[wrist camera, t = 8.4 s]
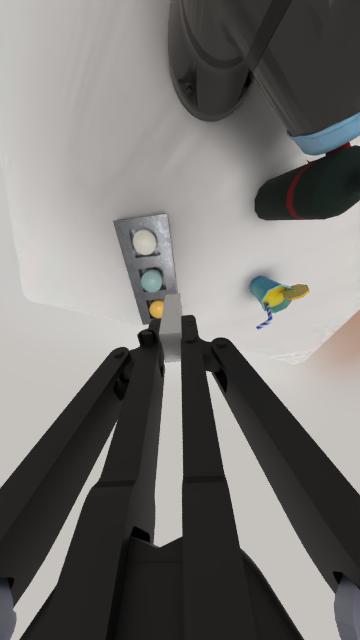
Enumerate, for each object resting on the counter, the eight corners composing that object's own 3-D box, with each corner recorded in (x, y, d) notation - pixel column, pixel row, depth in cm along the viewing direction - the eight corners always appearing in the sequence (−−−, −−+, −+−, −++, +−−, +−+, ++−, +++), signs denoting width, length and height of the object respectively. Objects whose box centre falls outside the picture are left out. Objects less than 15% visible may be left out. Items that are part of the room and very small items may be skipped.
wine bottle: (306, 181, 34) (661, 73, 9) (270, 227, 39) (439, 240, 14) (282, 155, 32) (666, -85, 7) (247, 207, 37) (399, 178, 12)
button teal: (141, 269, 41) (138, 273, 38) (160, 267, 41) (159, 271, 38) (145, 288, 44) (143, 293, 41) (164, 286, 44) (163, 291, 41)
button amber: (149, 298, 48) (147, 303, 45) (166, 296, 47) (165, 301, 44) (153, 313, 50) (151, 318, 47) (169, 311, 50) (168, 317, 47)
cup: (246, 309, 52) (268, 338, 39) (230, 296, 49) (248, 322, 36) (284, 276, 46) (324, 298, 33) (268, 259, 43) (305, 275, 31)
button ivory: (133, 230, 38) (130, 231, 35) (154, 228, 38) (153, 228, 35) (139, 253, 41) (136, 256, 38) (158, 251, 40) (157, 253, 37)
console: (118, 220, 38) (113, 220, 35) (167, 214, 37) (166, 213, 34) (145, 318, 53) (143, 324, 50) (180, 314, 52) (180, 320, 49)
